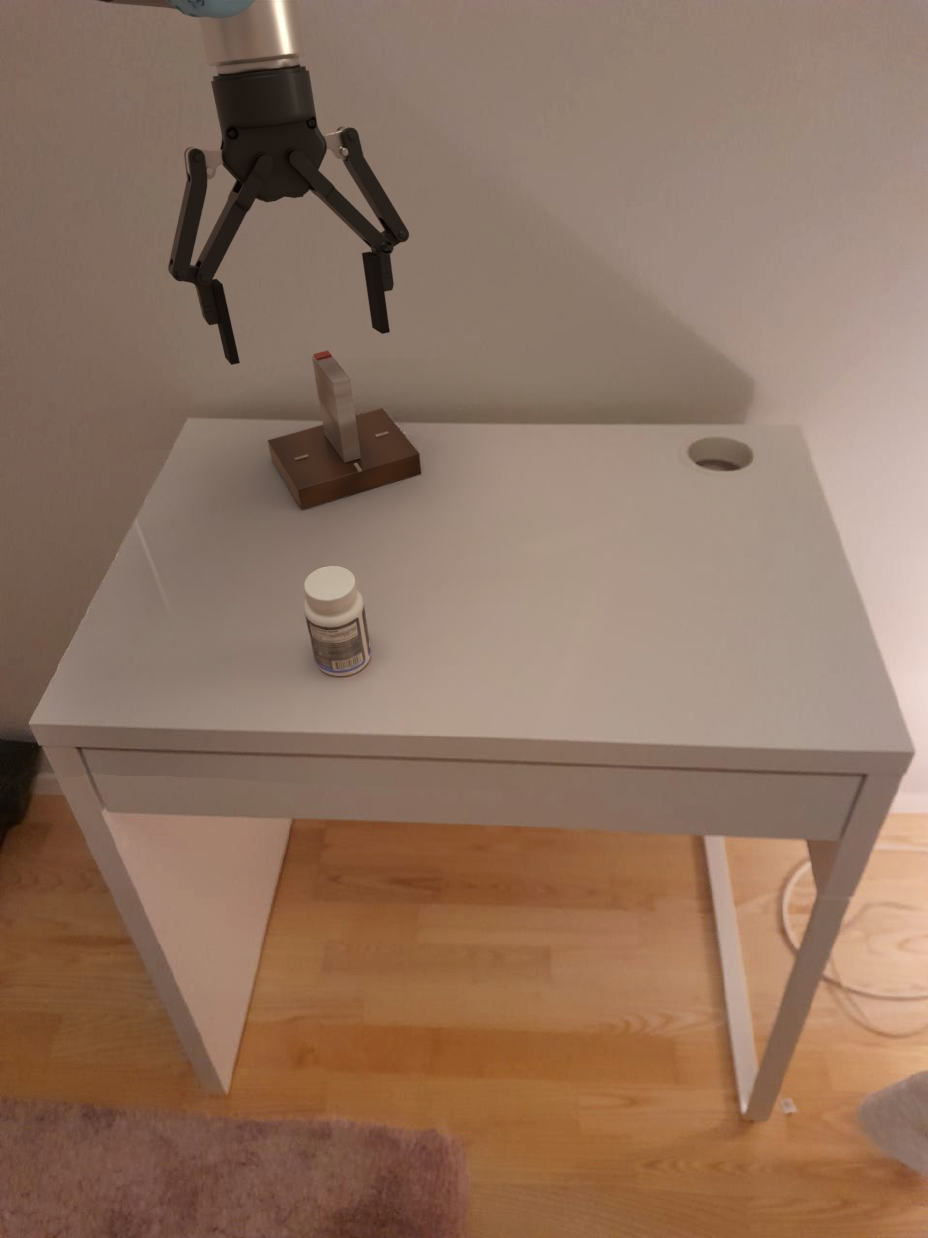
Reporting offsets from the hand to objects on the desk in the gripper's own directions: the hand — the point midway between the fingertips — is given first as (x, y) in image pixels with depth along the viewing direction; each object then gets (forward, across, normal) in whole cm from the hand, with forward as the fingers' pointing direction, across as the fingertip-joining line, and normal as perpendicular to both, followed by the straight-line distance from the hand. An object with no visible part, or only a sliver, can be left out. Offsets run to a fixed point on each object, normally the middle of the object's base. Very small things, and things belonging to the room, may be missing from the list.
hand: (308, 345), depth 83 cm
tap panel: (+15, -3, -8) cm, 18 cm away
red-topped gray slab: (+13, -3, -8) cm, 15 cm away
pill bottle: (+21, +6, +18) cm, 28 cm away
